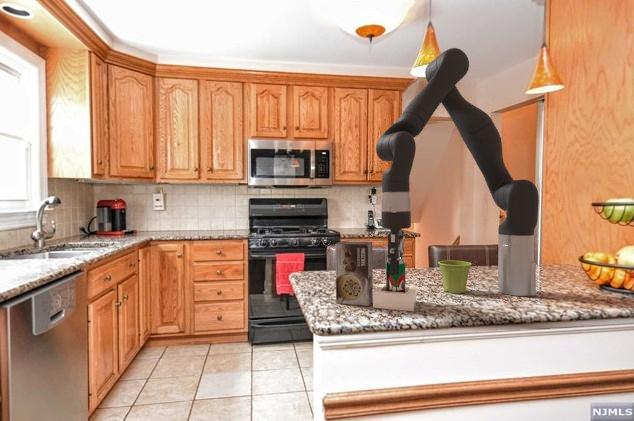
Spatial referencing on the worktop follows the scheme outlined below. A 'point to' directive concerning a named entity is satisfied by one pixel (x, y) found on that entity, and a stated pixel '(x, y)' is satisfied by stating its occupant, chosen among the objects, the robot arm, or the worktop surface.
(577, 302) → the worktop surface
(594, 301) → the worktop surface
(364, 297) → the coffee box
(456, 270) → the plant pot
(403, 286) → the soda can
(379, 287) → the holder
